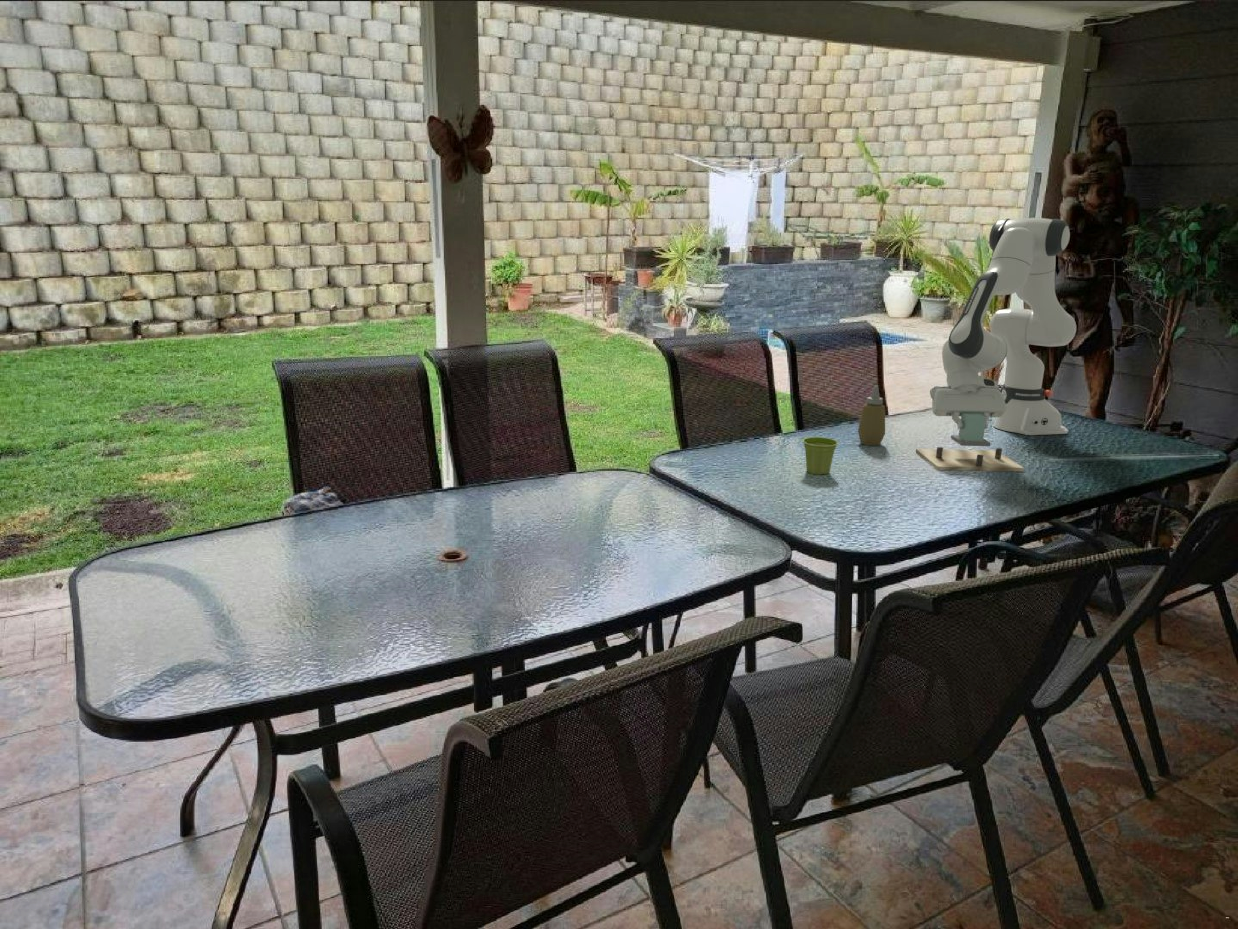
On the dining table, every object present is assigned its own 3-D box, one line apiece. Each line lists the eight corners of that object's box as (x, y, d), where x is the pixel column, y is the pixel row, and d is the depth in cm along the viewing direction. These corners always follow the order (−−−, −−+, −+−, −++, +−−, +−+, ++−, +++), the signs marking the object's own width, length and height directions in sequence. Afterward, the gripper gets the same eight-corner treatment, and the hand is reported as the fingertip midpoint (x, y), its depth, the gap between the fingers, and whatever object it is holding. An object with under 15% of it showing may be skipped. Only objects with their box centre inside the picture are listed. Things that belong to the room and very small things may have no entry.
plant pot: (795, 473, 234) (798, 442, 231) (805, 464, 242) (808, 435, 239) (830, 479, 230) (833, 447, 227) (839, 470, 238) (841, 439, 235)
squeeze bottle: (887, 447, 261) (893, 389, 256) (860, 447, 261) (866, 388, 256) (879, 440, 269) (886, 383, 263) (853, 440, 269) (859, 383, 263)
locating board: (996, 453, 256) (997, 440, 255) (1023, 471, 239) (1025, 457, 238) (915, 452, 256) (917, 439, 255) (937, 470, 239) (939, 456, 238)
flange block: (978, 438, 250) (982, 412, 248) (989, 446, 242) (994, 418, 240) (950, 438, 250) (954, 411, 247) (961, 445, 242) (965, 417, 240)
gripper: (932, 380, 248) (940, 421, 241) (1003, 381, 248) (1013, 422, 241) (925, 392, 253) (932, 432, 247) (994, 393, 254) (1003, 434, 247)
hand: (973, 427), depth 244 cm, fingers closed on flange block, 5 cm apart
